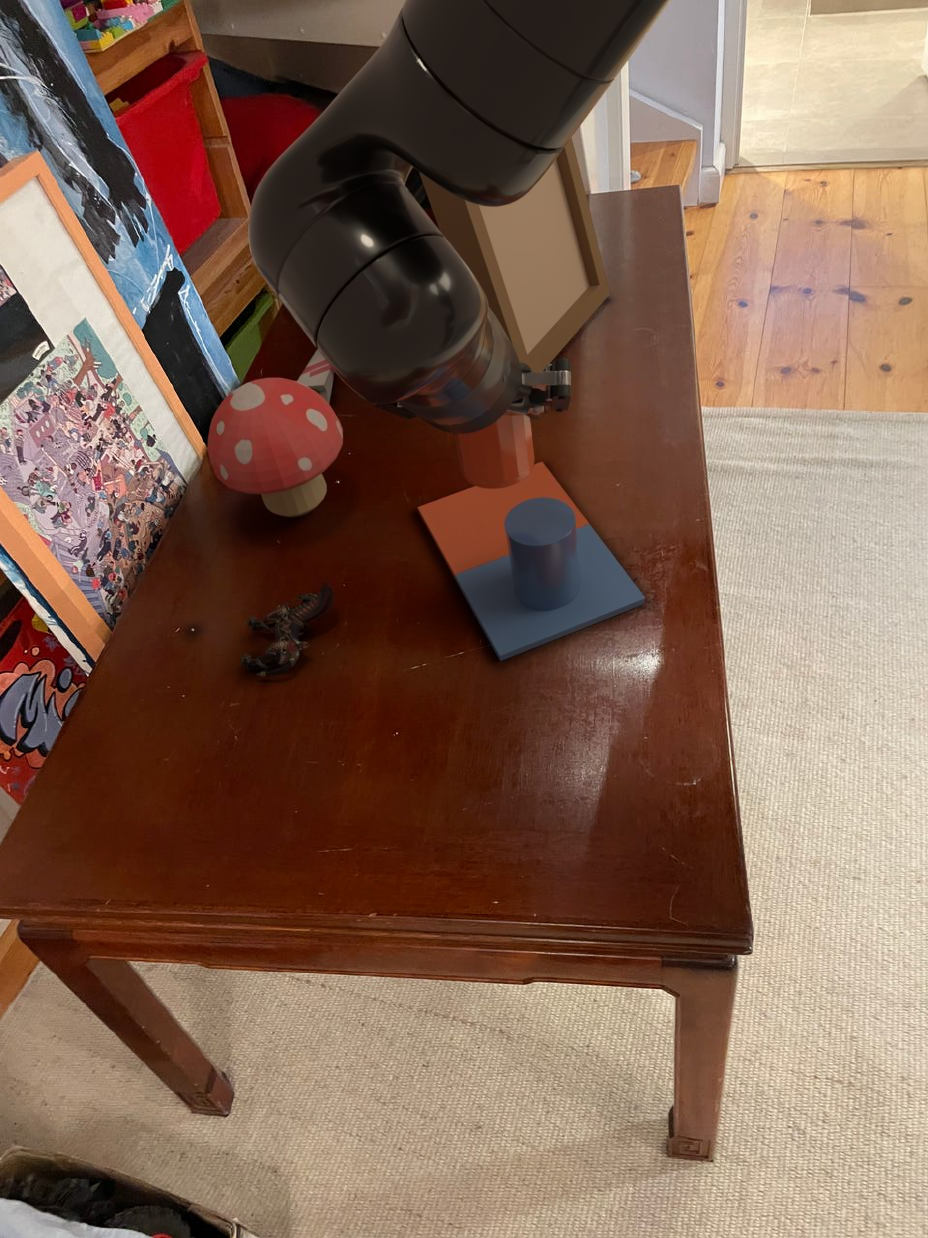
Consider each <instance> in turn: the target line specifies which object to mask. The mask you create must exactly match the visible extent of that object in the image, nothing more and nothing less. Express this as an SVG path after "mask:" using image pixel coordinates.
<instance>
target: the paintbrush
mask: <svg viewBox="0 0 928 1238" xmlns="http://www.w3.org/2000/svg"><path fill="white" fill-rule="evenodd" d="M335 373H336V372H335V371H334V370H333V369H332V367H331V366H330V365H329V363H328V362H327V361H326V360H325V358H324V357H323V356H322V354H321V353H320V352H319V350H318V349H317V348H316V350H315V352H314V354H313V355H312V357H311V358H310V360H309V361H308V363H307V365H306V366H305V368H304V369H303V371H302V373H301V374H300V376H299V377H298V379H297V380H296V381H297V382H300V383H302V384H304V385H306V386H308V387H309V388H311V389H312V390H314V391H315V392H317V393H318V394H320V395H321V396H322V397H323V398H324V399H325V400H326V401H327V402H328V403H329V404H331V403H330V401H331V395H332V389H333V383H334V380H335V379H334V378H335Z"/></svg>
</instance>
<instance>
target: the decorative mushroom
mask: <svg viewBox="0 0 928 1238" xmlns="http://www.w3.org/2000/svg"><path fill="white" fill-rule="evenodd" d="M343 434H344V429H343V426H342V424H341V422H340V419H339V418H338V416H337V415H336V413H335V410H334V409H333V408H332V406H331V404H330V403H328V402H327V401H326V400H325V399H324V398H323V397H322V396H321V395H320V394H318V393H317V392H315V391H314V390H312V389H311V388H309V387H308V386H306V385H304V384H302V383H300V382H297V380H292V379H289V378H283V377H264V378H259V379H254V380H251V381H249V382H246V383H244V384H242V385H240V386H239V387H237V388H235V389H234V390H233V391H232V392H230V394H228V395H227V396H225V398H224V399H223V400H222V401H221V403H220V405H218V408H217V409H216V410H215V412H214V413H213V417H212V418H211V421H210V426H209V431H208V435H207V452H208V458H209V461H210V464H211V467H212V469H213V472H214V474H215V477H216V479H217V480H219V481H220V482H221V483H222V484H224V485H225V487H227V488H228V489H232V490H234V491H238V492H241V493H243V494H247V495H261V498H262V501H263V504H264V505H265V508H266V509H267V510H269V512H270V513H273V514H275V515H278V516H281V517H285V518H298V517H302V516H305V515H307V514H309V513H311V512H312V511H314V510H315V509H316V508H317V507H318V506H319V505H320V504H321V502H322V501H323V500H324V499H325V496H326V495H327V491H328V488H327V486H328V485H327V482H326V480H325V478H324V475H323V473H324V472H325V471H326V470H327V469H328V468H329V467H330V466H331V465H332V464H333V463H334V462H335V461H336V459H337V458H338V455H339V453H340V451H341V449H342V447H343V444H344V435H343Z"/></svg>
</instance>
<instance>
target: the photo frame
mask: <svg viewBox="0 0 928 1238" xmlns="http://www.w3.org/2000/svg"><path fill="white" fill-rule="evenodd" d="M419 176H420V179H421V183H422V185H423V187H424V190H425V193H426V195H427V198H428V201H429V204H430V207H431V209H432V213H433V215H434V218H435V221H436V224H437V227H438V229H439V230H440V232H441V233H442V234H443V235H444V237H445V238H446V239H447V240H448V241H449V242H450V244H451V245H452V246H453V248H454V249H455V250H456V251H457V253H458V254H459V255H460V257H461V258H462V259H463V260H464V262H465V263H466V265H467V266H468V267H469V269H470V270H471V272H472V273H473V274H474V276H475V278H476V279H477V281H478V282H479V284H480V286H481V287H482V289H483V291H484V293H485V295H486V297H487V300H488V307H489V308H490V309H491V310H492V312H493V313H494V314H495V316H496V318H497V319H498V321H499V323H500V324H501V326H502V328H503V329H504V331H505V333H506V334H507V336H508V338H509V339H510V341H511V343H512V345H513V346H514V349H515V351H516V353H517V356H518V359H519V362H523V363H526V364H527V365H529V366H530V368H531V370H532V372H542V371H545V370H546V365H547V364H551V363H552V362H553V360H555V358H556V357H557V356H558V354H559V353H560V352H561V351H562V350H563V349H564V348H565V347H566V345H567V344H568V343H569V341H571V339H573V337H574V336H575V335H576V334H577V333H578V332H579V331H580V329H581V328H583V326H584V325H585V324H586V322H587V321H588V320H589V319H590V318H591V317H592V316H593V314H594V313H595V312H596V311H597V310H598V309H599V307H601V305H602V304H603V303H604V302H605V301H606V299H607V298H608V297H609V296H610V295H611V291H610V287H609V282H608V278H607V274H606V270H605V265H604V262H603V257H602V254H601V250H600V246H599V242H598V238H597V233H596V229H595V225H594V221H593V217H592V213H591V209H590V206H589V202H588V201H589V200H588V197H587V193H586V188H585V186H584V181H583V177H582V173H581V169H580V165H579V161H578V158H577V153H576V149H575V144H574V140H573V137H572V138H571V139H570V140H569V142H568V143H567V144H566V145H565V146H564V148H563V150H562V151H561V153H560V154H559V155H558V157H557V158H556V160H555V161H554V162H553V164H552V165H551V166H550V168H549V169H548V170H547V171H546V173H545V174H544V175H543V177H542V178H541V179H540V180H539V181H538V182H537V184H536V185H535V186H534V187H533V188H532V189H531V190H530V191H529V192H528V193H527V194H526V195H525V196H523V197H522V198H521V199H519V200H517V201H516V202H514V203H511V204H509V205H505V206H500V207H488V206H482V205H478V204H474V203H471V202H468V201H466V200H464V199H461V198H459V197H458V196H456V195H454V194H452V193H450V192H448V191H447V190H445V189H443V188H442V187H440V186H439V185H437V184H436V183H434V182H433V181H432V180H430V179H429V178H427V177H426V176H425V175H423V174H422V173H421V172H419Z"/></svg>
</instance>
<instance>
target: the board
mask: <svg viewBox="0 0 928 1238" xmlns="http://www.w3.org/2000/svg"><path fill="white" fill-rule="evenodd" d="M542 497H545V498H554V499H557V500H560V501H562V502H564V503H566V504H567V505H569V506H570V507H571V509H572V510H573V511H574V514H575V518H576V531H577V545H578V559H579V573H580V589H579V592H578V594H577V596H576V597H575V598H574V599H573V600H572V601H571V602H570V603H568V604H567V605H565V606H563V607H561V608H558V609H554V610H536V609H532V608H529V607H527V606H525V605H524V604H522V603H521V602H520V601H519V600H518V598H517V597H516V595H515V592H514V586H513V579H512V573H511V566H510V560H509V553H508V547H507V540H506V534H505V527H504V522H505V518H506V516H507V514H508V513H509V511H510V510H511V509H512V508H514V507H515V506H516V505H518V504H519V503H521V502H524V501H526V500H529V499H533V498H542ZM417 511H418V514H419V516H420V518H421V520H422V521H423V524H424V525H425V527H426V528H427V530H428V533H429V534H430V537H431V538H432V539H433V542H434V543H435V545H436V547H437V549H438V550H439V552H440V554H441V556H442V558H443V560H444V561H445V563H446V566H448V569H449V570H450V572H451V575H452V576H453V578H454V580H455V581H456V583H457V585H458V587H459V589H460V590H461V593H462V594H463V596H464V599H465V600H466V602H467V603H468V605H469V607H470V609H471V611H472V613H473V614H474V616H475V618H476V620H477V622H478V623H479V625H480V626H481V629H482V631H483V633H484V634H485V636H486V638H487V640H488V642H489V644H490V645H491V648H492V649H493V651H494V652H495V655H496V656H497V658H498V660H499V661H500V662H502V661H505V660H508V659H510V658H513V657H515V656H517V655H520V654H523V653H525V652H528V651H531V650H533V649H535V648H537V647H540V646H543V645H545V644H548V643H550V642H552V641H555V640H558V639H560V638H563V637H565V636H567V635H570V634H573V633H575V632H578V631H581V630H582V629H586V628H589V627H590V626H593V625H595V624H598V623H600V622H603V621H606V620H608V619H611V618H613V617H615V616H618V615H621V614H624V613H626V612H628V611H631V610H633V609H636V608H638V607H640V606H643V605H645V604H646V596H645V595H644V594H643V593H642V591H641V590H640V589H639V588H638V586H637V585H636V583H635V582H634V581H633V579H631V577H630V575H628V573H627V572H626V570H625V569H624V568H623V566H622V565H621V564H620V562H619V561H618V560H617V558H616V557H615V556H614V555H613V553H612V552H611V550H610V549H609V548H608V547H607V545H606V544H605V543H604V541H603V540H602V539H601V537H600V536H599V535H598V533H597V532H596V531H595V529H594V528H593V526H592V525H591V524H590V523H589V521H588V520H587V518H586V517H585V516H584V515H583V513H582V511H580V509H579V508H578V507H577V506H576V504H575V503H574V501H573V500H572V499H571V498H570V496H569V495H568V493H567V492H566V491H565V489H564V488H563V487H562V486H561V484H560V483H559V481H557V479H556V478H555V476H554V475H553V473H551V471H550V470H549V468H548V467H547V465H545V463H544V461H540V462H537V463H535V464H534V467H533V470H532V471H531V473H530V474H529V475H528V476H527V477H526V478H525V479H523V480H522V481H520V482H519V483H517V484H514V485H512V486H509V487H505V488H499V489H487V488H481V487H478V486H475V485H473V486H472V487H469V488H466V489H463V490H461V491H458V492H455V493H453V494H450V495H447V496H444V497H441V498H439V499H436V500H434V501H431V502H428V503H425V504H423V505H420V506H417Z"/></svg>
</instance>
